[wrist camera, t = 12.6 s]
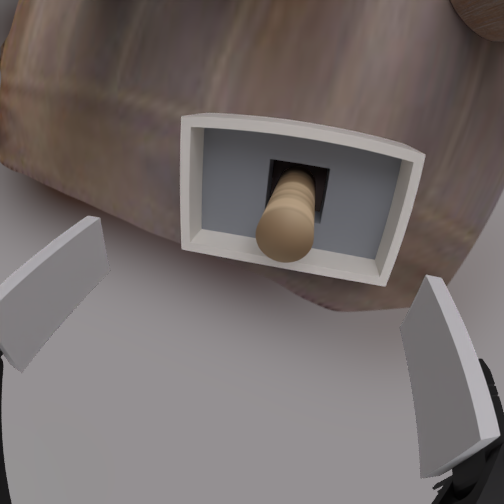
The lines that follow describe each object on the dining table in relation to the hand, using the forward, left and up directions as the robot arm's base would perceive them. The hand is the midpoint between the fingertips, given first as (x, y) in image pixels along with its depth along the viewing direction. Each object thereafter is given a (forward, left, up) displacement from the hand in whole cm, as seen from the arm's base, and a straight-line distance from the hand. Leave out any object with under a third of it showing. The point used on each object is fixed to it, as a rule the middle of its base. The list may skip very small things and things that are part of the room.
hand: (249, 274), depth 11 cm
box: (+1, -3, -23) cm, 23 cm away
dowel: (+1, -3, -23) cm, 23 cm away
